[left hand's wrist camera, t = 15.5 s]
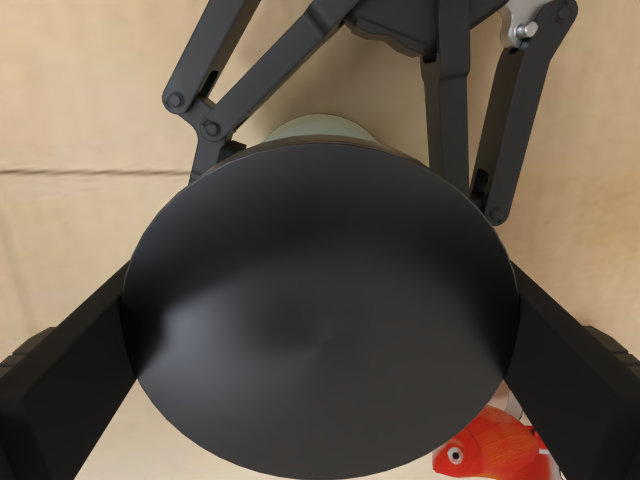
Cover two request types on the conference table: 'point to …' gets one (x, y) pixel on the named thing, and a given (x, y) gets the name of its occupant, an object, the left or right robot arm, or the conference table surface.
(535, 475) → the fish
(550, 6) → the right robot arm
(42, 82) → the conference table surface
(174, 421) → the lid
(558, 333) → the left robot arm
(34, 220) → the conference table surface
